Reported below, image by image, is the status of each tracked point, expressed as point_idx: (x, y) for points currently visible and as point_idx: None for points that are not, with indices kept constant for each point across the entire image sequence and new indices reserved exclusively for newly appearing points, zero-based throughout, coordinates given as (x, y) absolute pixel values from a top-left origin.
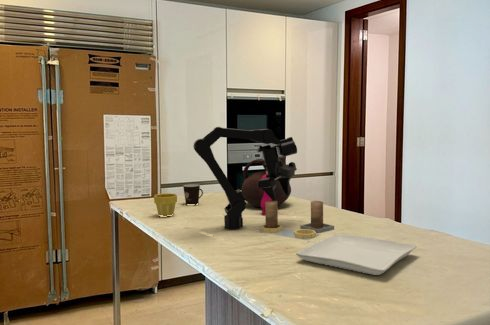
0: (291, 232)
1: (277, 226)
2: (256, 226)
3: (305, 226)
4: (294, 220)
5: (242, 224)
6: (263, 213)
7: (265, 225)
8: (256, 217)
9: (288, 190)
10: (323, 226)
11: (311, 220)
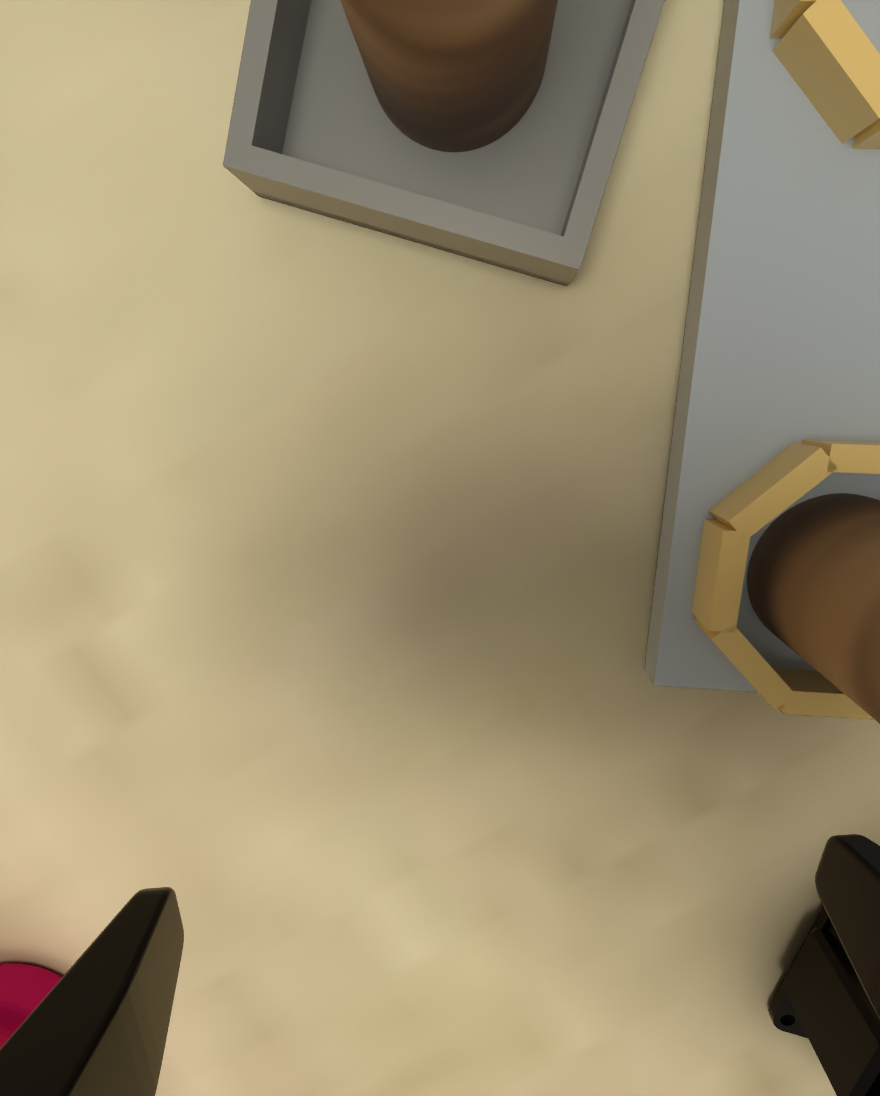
0: (831, 273)
1: (856, 506)
2: (587, 868)
3: (606, 150)
4: (91, 654)
5: (845, 966)
6: None
7: (833, 692)
8: (234, 1052)
9: (65, 1001)
10: (294, 2)
11: (541, 17)
